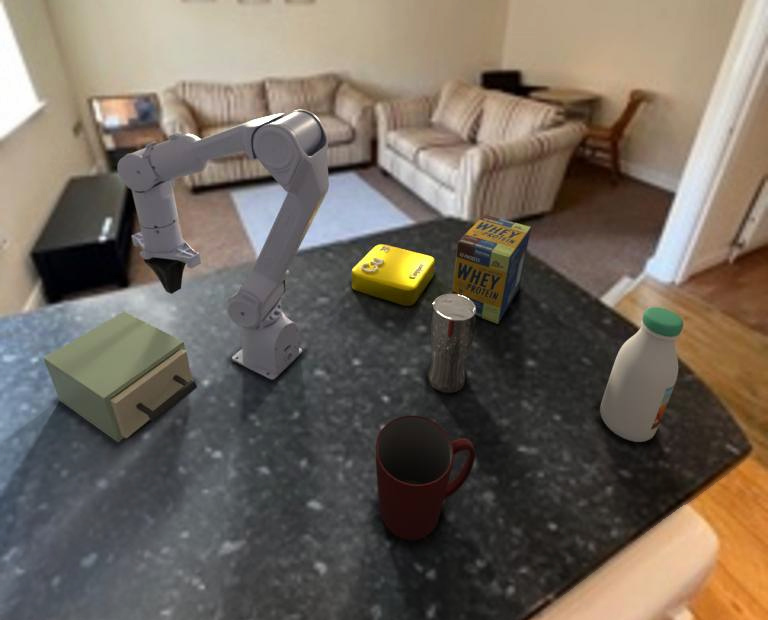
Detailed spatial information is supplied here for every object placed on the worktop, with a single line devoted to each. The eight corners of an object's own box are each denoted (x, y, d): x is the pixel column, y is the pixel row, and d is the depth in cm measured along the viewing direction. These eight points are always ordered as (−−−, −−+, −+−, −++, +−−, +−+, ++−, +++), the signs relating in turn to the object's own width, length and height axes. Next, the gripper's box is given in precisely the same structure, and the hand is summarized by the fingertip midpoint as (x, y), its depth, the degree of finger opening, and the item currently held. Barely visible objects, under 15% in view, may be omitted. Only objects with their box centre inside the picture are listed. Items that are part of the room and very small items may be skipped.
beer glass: (471, 371, 76) (482, 300, 70) (460, 401, 71) (470, 326, 64) (433, 358, 79) (440, 288, 73) (419, 386, 73) (425, 312, 67)
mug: (454, 464, 61) (462, 406, 56) (480, 532, 53) (492, 471, 49) (368, 481, 59) (369, 421, 54) (382, 555, 51) (385, 493, 46)
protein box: (449, 307, 93) (456, 241, 86) (476, 272, 105) (484, 213, 98) (498, 325, 88) (510, 257, 81) (521, 287, 100) (532, 225, 93)
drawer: (212, 394, 70) (205, 361, 67) (145, 452, 61) (135, 417, 58) (139, 353, 77) (130, 321, 74) (70, 399, 68) (57, 365, 65)
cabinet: (192, 382, 73) (183, 341, 69) (118, 442, 63) (103, 398, 59) (135, 350, 79) (124, 311, 75) (59, 400, 69) (43, 357, 65)
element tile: (411, 309, 92) (413, 289, 90) (348, 289, 97) (347, 270, 95) (436, 273, 104) (437, 255, 102) (378, 257, 110) (378, 240, 108)
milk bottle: (632, 452, 63) (675, 342, 55) (587, 411, 70) (619, 307, 61) (666, 431, 67) (711, 324, 58) (620, 394, 73) (655, 293, 64)
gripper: (107, 219, 72) (126, 288, 78) (167, 242, 66) (182, 316, 72) (147, 204, 78) (161, 270, 84) (205, 223, 72) (217, 293, 78)
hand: (173, 290), depth 78 cm, fingers closed
